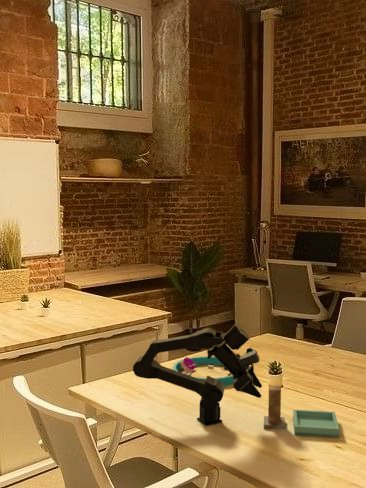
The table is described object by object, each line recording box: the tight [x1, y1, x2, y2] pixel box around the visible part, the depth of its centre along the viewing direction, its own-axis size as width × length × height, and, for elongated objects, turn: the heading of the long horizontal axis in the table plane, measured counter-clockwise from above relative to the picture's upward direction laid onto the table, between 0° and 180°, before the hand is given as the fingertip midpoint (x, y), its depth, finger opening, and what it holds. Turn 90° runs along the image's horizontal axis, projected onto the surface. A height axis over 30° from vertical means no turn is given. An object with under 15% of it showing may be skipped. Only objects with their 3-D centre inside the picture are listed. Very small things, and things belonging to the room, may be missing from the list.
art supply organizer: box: [172, 355, 234, 387], centre depth 243 cm, size 30×30×6 cm
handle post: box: [263, 385, 286, 431], centre depth 192 cm, size 7×7×13 cm
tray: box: [292, 409, 340, 439], centre depth 190 cm, size 14×14×3 cm
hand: (260, 391), depth 192 cm, fingers open, 9 cm apart
